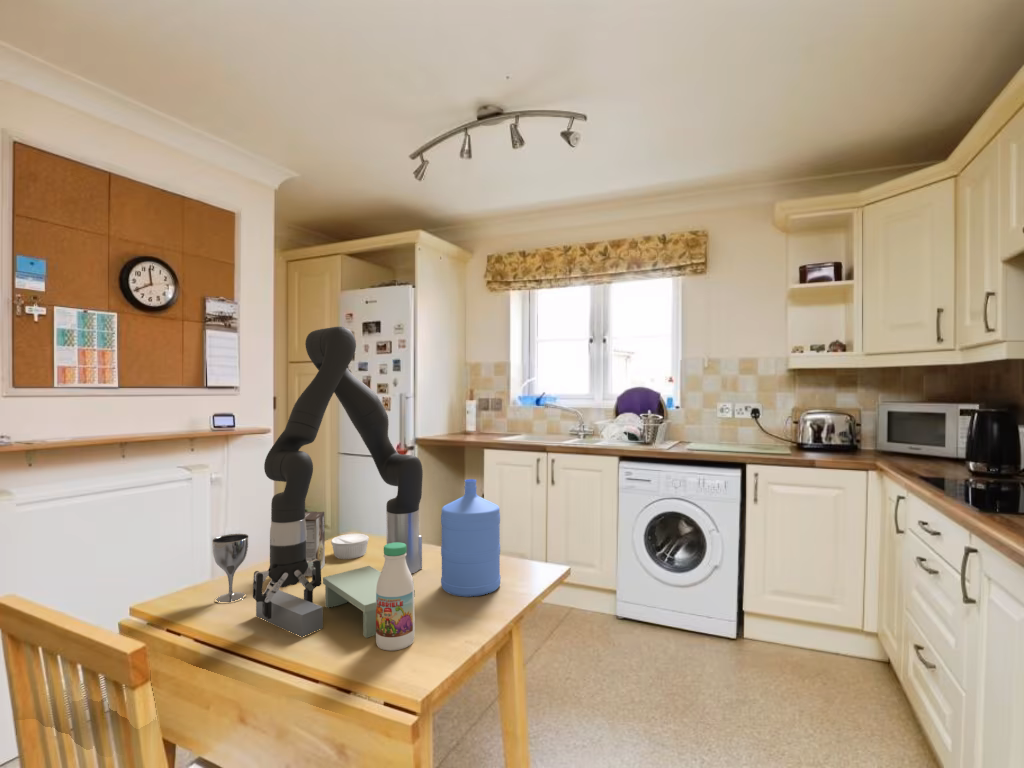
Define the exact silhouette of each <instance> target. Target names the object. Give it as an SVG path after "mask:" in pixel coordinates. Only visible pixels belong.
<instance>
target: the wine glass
mask: <svg viewBox="0 0 1024 768" xmlns="http://www.w3.org/2000/svg"><path fill="white" fill-rule="evenodd" d="M211 542H212V545H211V546H212V554H213V555H212V556H213V558H214V562H215V564H216V565H217V566H218V567H219V568H221V569H222V571H224V573H225V574H226V576H227V579H228V580H227V581H228V582H227V583H228V593H225V594H221V595H219V596H220V597H219V596H218V598H217V597H216V598H217V599H216V598H215V599H216V600H217V601H218V602H219V601H220V602H231V601H235V600H238V599H241V598H243V596H244V595H245V594H246V593H245V592H242V593H241V591H237V592H236V591H235V592H234V593H233V591H234V590H233V581H234V575H235V574H236V571H237V570H238V568H239V567H240V566H241V565H242V564H243V563H244V561H245V560H246V558H247V554H248V550H249V535H248V534H246V533H230V534H224V535H220V536H219V535H218V536H216V537H213V539H212V541H211ZM244 593H245V594H244Z"/></svg>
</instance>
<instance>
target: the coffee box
mask: <svg viewBox="0 0 1024 768" xmlns="http://www.w3.org/2000/svg"><path fill="white" fill-rule="evenodd" d="M305 522H306V532H307V537H306V561H307V562H308V561H312V559H313V558H316V559H317V560H319V561H320V562H321V570H322V569H323V568H324V566H325V565H326V563H325V562H326V559H325V558H326V554H325V553H326V552H325V551H326V547H325V546H326V544H325V542H326V541H325V539H326V538H325V536H326V534H325V531H326V529H325V511H305ZM304 577H312V570H311V569H310V568H309V567H308V568H307V570H306V572H305V573H304Z"/></svg>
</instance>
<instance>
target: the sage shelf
mask: <svg viewBox="0 0 1024 768" xmlns="http://www.w3.org/2000/svg"><path fill="white" fill-rule="evenodd" d="M380 574H381V571H380V570H378V569H376V568H374V567H372V566H370V565H366V566H362V567H359V568H355V569H351V570H347V571H343V572H339V573H335V574H331V575H327V576H323V577H322V584H323V586H325V589H324V590H325V592H324V593H325V594H324V595H325V601H324V602H325V603H324V604H325V608H327V607H328V608H327V609H330V608H329V607H331V608H333V606H334V607H337V606H340V605H344V604H347V602H348V603H349V604H351V605H353V606H355V607H356V608H357V609H359V610H361V611H362V612H363V613H362V620H363V621H362V623H363V625H362V630H363V631H362V636H364V638H365V639H368V638H370V637H373V636H376V588H377V582H378V578H379V576H380ZM415 592H416V591H415V589H414V598H415V597H416V593H415Z"/></svg>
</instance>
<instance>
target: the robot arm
mask: <svg viewBox="0 0 1024 768" xmlns="http://www.w3.org/2000/svg"><path fill="white" fill-rule="evenodd" d="M304 345H305V351H306V353H307V356H308V357H309V359H310V361H311V362H312V363H313V365H314V366H315V368H316V369H317V370H318V371H317V373H316V375H315V376H314V378H312V381H310V383H309V384H308V386H306V388H305V389H304V390H303V391H302V392H301V394H300V396H298V398H297V400H296V401H295V403H294V405H293V407H292V410H291V413H290V414H289V416H288V417H289V418H288V419H287V423H286V426H285V428H284V429H283V431H282V433H281V434H280V435H279V436H278V438H277V439H276V441H275V442H274V443H273V445H272V447H270V449H269V451H268V453H267V454H266V457H265V460H264V463H263V464H264V465H263V466H264V467H263V468H264V473H265V475H266V477H267V478H268V479H270V480H271V481H275V482H283V483H285V486H284V489H283V491H282V492H279V493H276V494H274V495H273V496H272V498H271V505H270V506H271V508H270V510H271V515H270V517H271V518H270V528H269V567H268V569H267V570H263V571H260V570H255V571H254V573H253V578H252V579H253V580H252V582H253V583H252V598H253V600H255V602H256V601H257V602H262V614H263V616H264V617H266V618H267V619H271V617H272V602H271V601H270V600H271V599H272V597H273V596H274V594H275V593H276V592H277V591H278V590H280V588H282V589H283V588H286V587H289V586H295V585H297V584H298V583H300V584H301V586H303V587H304V588H305V589H303V599H304V600H306V601H309V602H312V603H314V590H315V589H316V588H317V587H320V586H321V585H322V569H321V562H320V561H319V560H317V559H316V558H313V559H312V561H308V562H307V561H306V537H307V532H306V522H305V512H306V498H307V495H308V492H309V489H310V483H311V481H312V477H313V473H314V472H313V471H314V463H313V460H312V457H311V456H310V454H309V453H307V452H305V451H303V450H300V449H301V448H302V447H304V446H306V445H310V444H312V443H314V442H315V440H316V438H317V436H318V432H319V430H320V427H321V425H322V421H323V418H324V416H325V413H326V410H327V408H328V406H329V404H330V401H331V398H332V397H333V394H335V396H336V398H337V400H338V401H339V402H340V404H341V406H342V407H343V409H344V410H345V413H346V414H347V416H348V418H349V420H350V421H351V423H352V425H353V426H354V428H355V429H356V431H357V433H358V434H359V436H360V438H361V440H362V441H363V443H364V445H365V446H366V448H367V450H368V452H369V453H370V455H371V458H372V460H373V461H374V464H375V467H376V470H377V471H378V473H379V475H380V477H381V479H382V480H383V482H385V483H386V484H387V485H389V486H393V487H397V492H396V493H397V495H396V496H395V497H394V498H390V499H388V501H387V502H386V515H385V516H386V519H385V520H386V544H389V543H395V542H400V543H404V544H406V547H407V551H406V554H407V555H406V556H405V559H406V563H407V566H408V569H409V571H410V573H411V575H412V574H414V573H416V572H418V571H419V570H422V569H423V536H422V535H421V534H420V503H421V501H422V500H421V499H422V493H423V473H424V472H423V465H422V461H421V460H420V459H419V457H417V456H415V455H413V454H412V455H410V454H399V453H398V452H397V450H396V449H395V447H394V446H393V444H392V442H391V440H390V439H389V416H388V412H387V410H386V408H385V407H384V405H383V403H382V401H381V399H380V398H379V397H378V395H377V394H376V393H375V391H374V390H373V389H372V388H370V387H369V386H367V385H366V384H365V383H364V382H363V381H361V380H360V379H359V378H358V377H356V376H355V375H354V374H353V373H352V372H351V371H350V369H349V366H350V363H351V361H352V360H353V357H354V356H355V352H356V350H357V340H356V337H355V335H354V333H353V332H352V330H350V329H349V328H348V327H345V326H331V327H325V328H320V329H316V330H313V331H311V332H309V333H308V334H307V336H306V339H305V344H304ZM308 567H309V568H310V569H311V570H312V576H311V581H309V580H308V578H307V577H306V576H304V573H305V572H306V570H307V568H308ZM267 577H269V578H270V580H269V582H268V584H267V585H266V589H265V590H264V592H263V585H264V582H265V581H266V580H267Z"/></svg>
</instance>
